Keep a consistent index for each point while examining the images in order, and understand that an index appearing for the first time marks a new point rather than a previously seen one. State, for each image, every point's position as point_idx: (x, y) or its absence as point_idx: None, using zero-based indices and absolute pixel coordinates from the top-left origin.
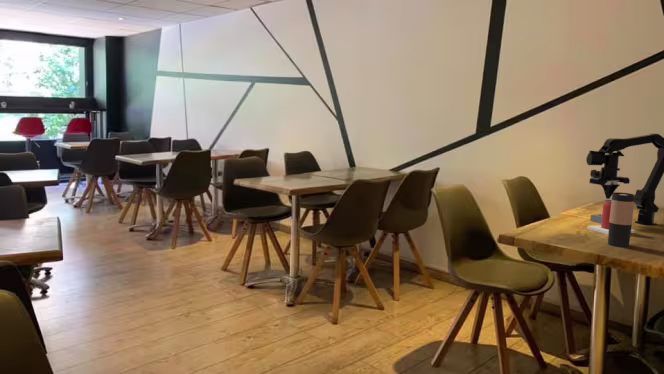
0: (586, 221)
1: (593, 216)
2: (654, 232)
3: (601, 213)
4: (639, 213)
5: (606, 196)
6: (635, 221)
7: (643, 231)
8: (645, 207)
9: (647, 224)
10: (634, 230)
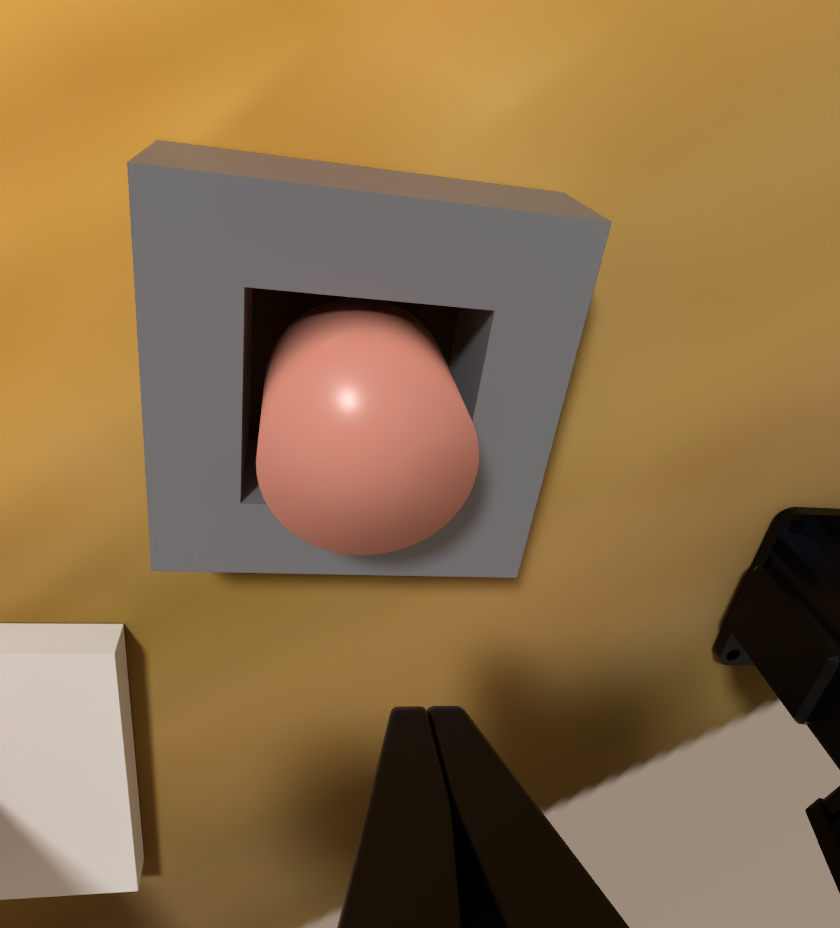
0: (3, 159)
1: (140, 248)
2: None
3: (269, 391)
4: (836, 673)
5: (374, 798)
6: (779, 531)
7: (323, 825)
8: (835, 876)
9: (724, 661)
10: (126, 890)
